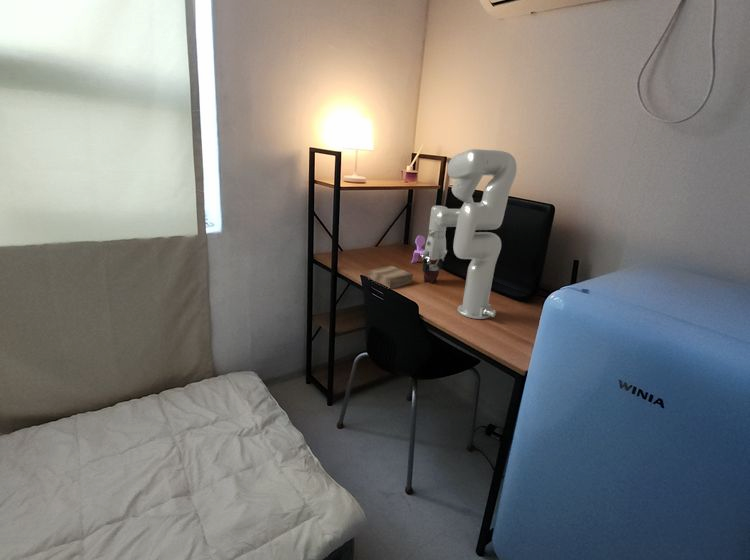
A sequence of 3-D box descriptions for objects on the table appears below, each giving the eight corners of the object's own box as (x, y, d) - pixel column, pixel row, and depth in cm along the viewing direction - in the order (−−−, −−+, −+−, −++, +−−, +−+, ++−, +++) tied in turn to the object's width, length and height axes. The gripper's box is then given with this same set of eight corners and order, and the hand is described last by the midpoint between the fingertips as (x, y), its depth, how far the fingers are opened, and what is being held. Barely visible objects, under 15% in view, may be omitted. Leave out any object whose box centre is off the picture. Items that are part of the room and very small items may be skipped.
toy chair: (423, 267, 211) (426, 239, 206) (409, 263, 217) (412, 235, 212) (432, 264, 217) (435, 237, 213) (418, 260, 223) (421, 233, 218)
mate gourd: (420, 279, 193) (423, 248, 188) (435, 279, 195) (439, 248, 190) (426, 285, 186) (429, 253, 181) (442, 284, 188) (446, 253, 183)
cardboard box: (411, 284, 187) (412, 273, 185) (389, 289, 178) (390, 278, 176) (390, 275, 197) (391, 265, 195) (368, 280, 188) (369, 269, 186)
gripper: (430, 237, 175) (426, 275, 180) (455, 233, 186) (450, 269, 192) (417, 234, 180) (413, 271, 185) (442, 230, 191) (437, 265, 197)
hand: (432, 270), depth 189 cm, fingers open, 9 cm apart
